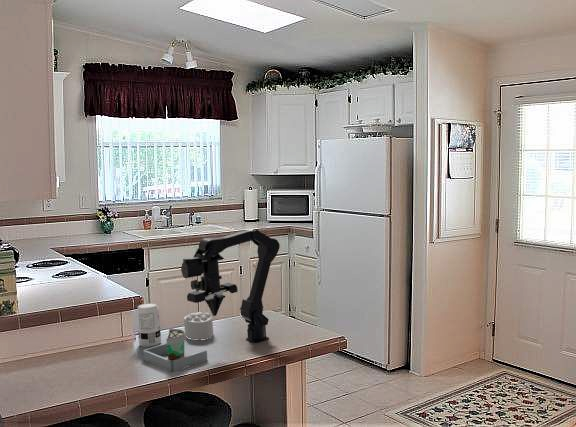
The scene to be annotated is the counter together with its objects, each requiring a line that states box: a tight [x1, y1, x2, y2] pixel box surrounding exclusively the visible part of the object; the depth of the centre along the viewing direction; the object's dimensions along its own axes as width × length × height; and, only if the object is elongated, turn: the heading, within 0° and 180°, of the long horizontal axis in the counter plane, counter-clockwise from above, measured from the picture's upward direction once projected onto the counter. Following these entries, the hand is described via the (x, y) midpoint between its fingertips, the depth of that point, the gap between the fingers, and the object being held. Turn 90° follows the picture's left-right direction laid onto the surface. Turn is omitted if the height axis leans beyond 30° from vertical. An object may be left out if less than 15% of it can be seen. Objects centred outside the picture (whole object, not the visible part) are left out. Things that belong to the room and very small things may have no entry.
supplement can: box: [136, 302, 162, 348], centre depth 227 cm, size 8×8×15 cm
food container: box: [166, 328, 187, 361], centre depth 207 cm, size 12×6×10 cm, turn 7°
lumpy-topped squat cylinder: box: [183, 311, 214, 340], centre depth 235 cm, size 10×13×9 cm
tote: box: [141, 342, 208, 373], centre depth 208 cm, size 14×19×4 cm
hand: (214, 315), depth 216 cm, fingers closed
